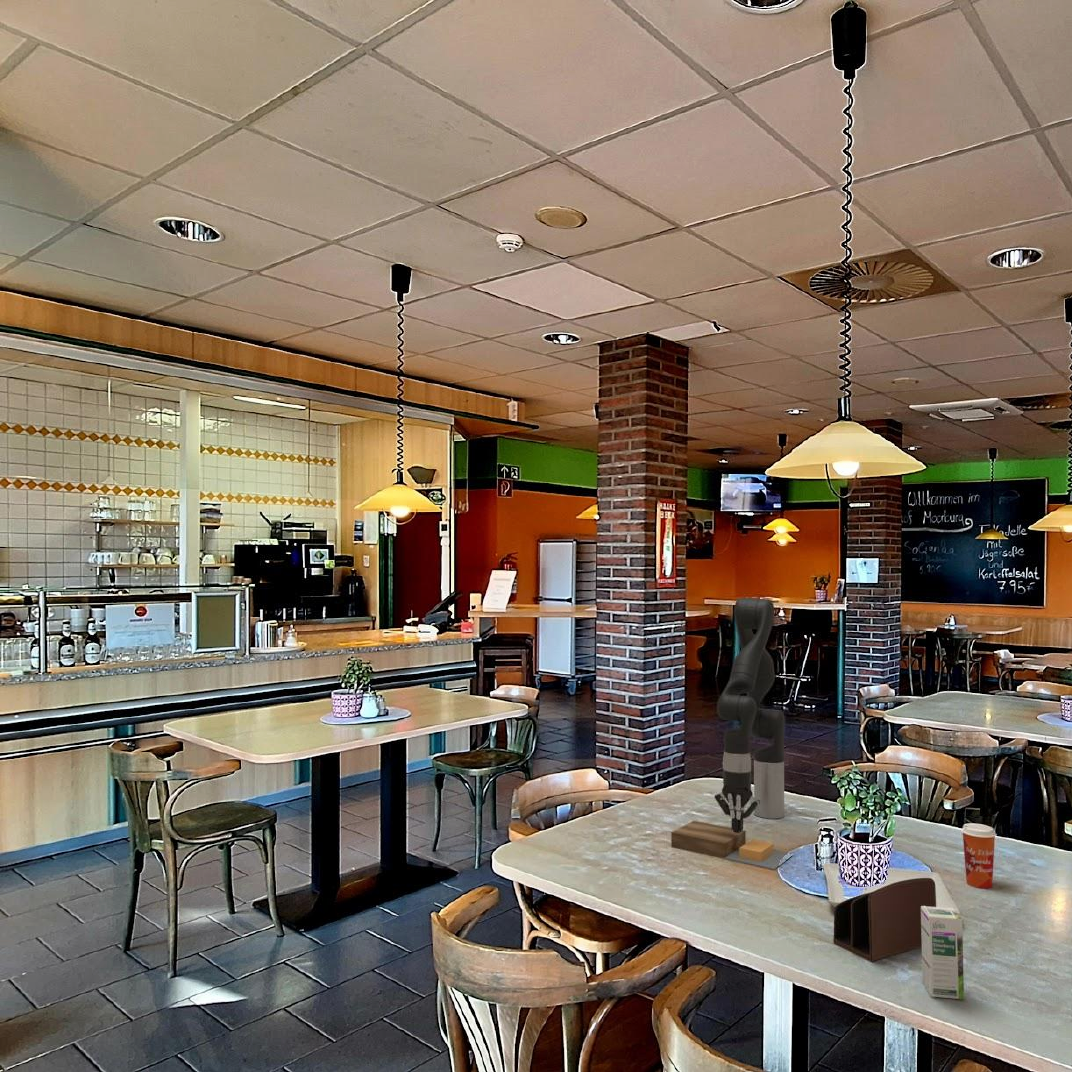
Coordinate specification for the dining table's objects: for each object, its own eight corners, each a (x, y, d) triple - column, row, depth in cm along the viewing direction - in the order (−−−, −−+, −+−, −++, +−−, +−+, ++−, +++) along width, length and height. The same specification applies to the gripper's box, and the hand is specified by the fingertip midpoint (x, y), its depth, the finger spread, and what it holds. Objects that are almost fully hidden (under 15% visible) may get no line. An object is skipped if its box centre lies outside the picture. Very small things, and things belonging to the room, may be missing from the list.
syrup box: (930, 997, 153) (929, 916, 154) (921, 982, 159) (920, 903, 160) (964, 1000, 152) (963, 918, 153) (953, 985, 158) (952, 906, 159)
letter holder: (938, 943, 176) (937, 874, 177) (872, 963, 167) (871, 890, 168) (897, 925, 185) (896, 860, 186) (832, 943, 176) (832, 874, 176)
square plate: (938, 886, 209) (937, 870, 209) (961, 931, 183) (961, 913, 183) (822, 875, 216) (822, 859, 217) (829, 916, 190) (829, 899, 190)
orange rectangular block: (773, 843, 231) (773, 853, 231) (752, 839, 234) (752, 848, 234) (760, 852, 224) (760, 861, 223) (739, 847, 227) (739, 857, 227)
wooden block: (693, 834, 248) (693, 820, 248) (745, 845, 238) (745, 830, 238) (671, 846, 237) (671, 832, 237) (724, 858, 227) (724, 843, 227)
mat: (746, 844, 239) (746, 843, 239) (794, 854, 230) (794, 853, 230) (724, 859, 227) (724, 857, 227) (774, 870, 218) (774, 868, 218)
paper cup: (964, 887, 207) (963, 829, 208) (960, 877, 214) (959, 821, 215) (1000, 892, 204) (999, 833, 205) (994, 881, 212) (993, 824, 212)
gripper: (765, 769, 232) (765, 833, 232) (720, 762, 240) (720, 824, 239) (754, 774, 226) (754, 840, 226) (709, 767, 234) (709, 830, 233)
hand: (737, 831), depth 233 cm, fingers closed
